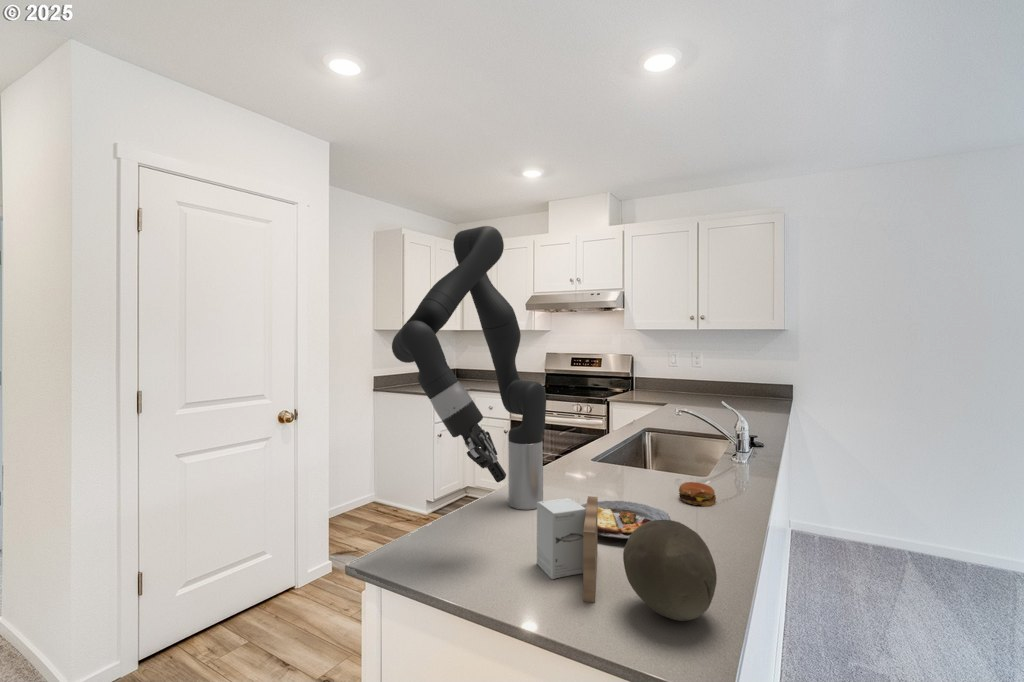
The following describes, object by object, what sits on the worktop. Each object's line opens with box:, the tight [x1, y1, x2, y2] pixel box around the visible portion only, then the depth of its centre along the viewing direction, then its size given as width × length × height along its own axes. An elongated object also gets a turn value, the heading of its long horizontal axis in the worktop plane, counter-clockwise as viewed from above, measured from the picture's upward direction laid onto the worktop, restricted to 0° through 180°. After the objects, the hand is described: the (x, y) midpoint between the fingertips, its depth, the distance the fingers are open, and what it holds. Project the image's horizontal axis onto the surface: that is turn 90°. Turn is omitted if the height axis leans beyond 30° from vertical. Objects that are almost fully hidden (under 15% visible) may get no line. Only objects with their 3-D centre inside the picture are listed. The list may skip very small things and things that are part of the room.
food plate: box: [580, 500, 672, 540], centre depth 119 cm, size 25×23×4 cm
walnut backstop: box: [582, 495, 599, 603], centre depth 94 cm, size 19×2×12 cm, turn 169°
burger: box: [678, 481, 717, 507], centre depth 137 cm, size 10×9×5 cm
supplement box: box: [536, 497, 586, 580], centre depth 97 cm, size 7×7×13 cm
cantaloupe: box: [622, 519, 717, 622], centre depth 81 cm, size 14×14×15 cm
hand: (502, 479), depth 102 cm, fingers closed
